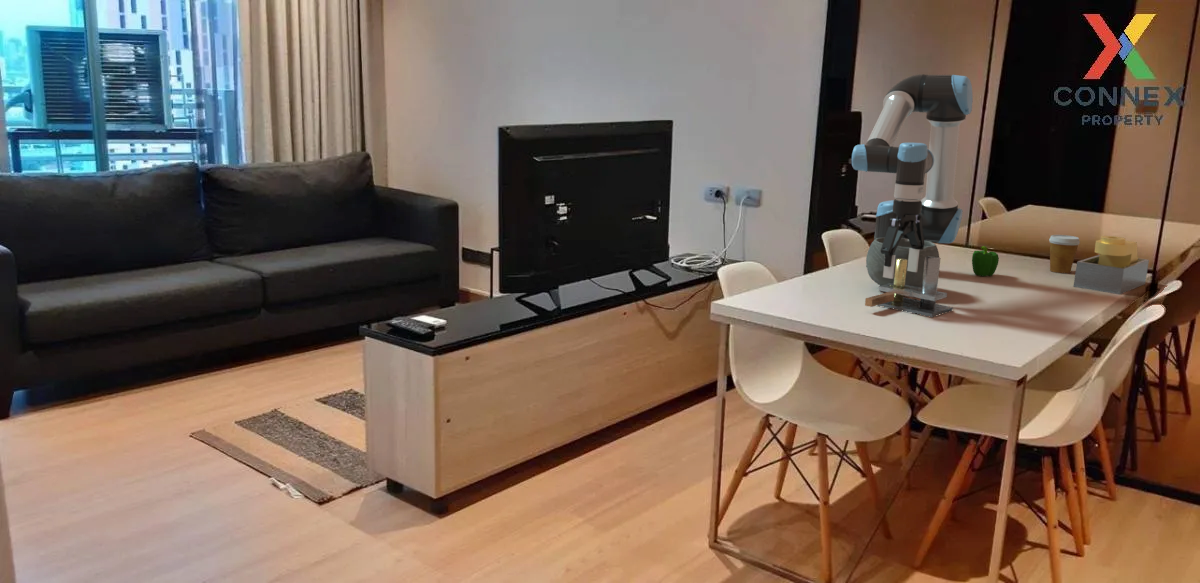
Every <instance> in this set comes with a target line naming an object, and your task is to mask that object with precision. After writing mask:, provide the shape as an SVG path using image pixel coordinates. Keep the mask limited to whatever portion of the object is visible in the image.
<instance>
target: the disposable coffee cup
mask: <svg viewBox="0 0 1200 583" xmlns="http://www.w3.org/2000/svg"><path fill="white" fill-rule="evenodd" d="M1048 240H1049V271H1050V272H1052V273H1055V274H1057V273H1058V274H1070V273H1071V271H1072V267H1073V264H1074V260H1075V256H1076V255H1077V254H1076V253H1077V251H1078V246H1079V245H1080V243H1081V241H1080V238H1079V237H1078V236H1073V235H1066V234H1053V235H1050V237H1049V239H1048Z"/></svg>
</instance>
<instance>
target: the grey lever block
mask: <svg viewBox="0 0 1200 583" xmlns="http://www.w3.org/2000/svg"><path fill="white" fill-rule="evenodd" d="M940 266H941V257H940V256H939V257H934V256H926V257H925V262H924V272H923V281H922V288H920V287H914V286H909V285H905V288H904V289H899V288H893V286H894V282H893V283H889V284H885V285H881V286H880V285H879V286H878V291H880V292H884V293H881V294H876V295H873V296H869V297H866V298H865V301H864V306H866V307H870V308H873V307H876V305H879V306H878V307H880V306H884V307H883V308H885V307H889V308H888V309H890V308H894V309H898V310H897V311H899V310H903V311H902V312H904V311H907V312H906V313H908V312H912V313H911V314H913V313H917V314H916V315H918V314H921V315H920V316H922V315H925V316H924V317H927V316H930V317H929V318H934V317H933V316H935V317H937V316H936V315H938V316H940V315H939V314H941V315H943V314H942V313H944V314H946V313H945V312H947V313H950V312H952V310H954V307H953V306H948V305H943V304H938V303H937V301H939V300H942V299H945V298H947V297H948V293H947V292H942V291H938V283H939V275H940ZM895 294H900V295H904V296H905V297H904V298H903V302H893V301H894V295H895ZM908 297H911V298H908ZM914 298H918V299H919V300H918V299H914ZM894 309H893V310H894ZM949 311H950V312H949Z"/></svg>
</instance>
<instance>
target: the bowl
mask: <svg viewBox="0 0 1200 583" xmlns="http://www.w3.org/2000/svg"><path fill="white" fill-rule="evenodd" d="M884 239H885V238H876V239H875V240H874V239H873V241H872V242H871V243H870V246H869V247H868V251H867V253H866V259H865V261H866V262H865V264H867V267H866V269H867V274H868V276H869V277H870V279H871V280H872V281H873V282H874V283H875V284H877V285H879V286H881V285H885V284H889V283H893V282H894V276H895V267H896V259H907V267H908V258H909V248H912V247H911V244H910V242H909V239H905V238H901V240H900V242H899V244H898V246H897V248H896V250H895V253H894V255H895V265H894V275H893V279H890V278H885V277H883V271H884V261H885V254H882V253H881V248H882V245H883V242H884ZM919 241H920V240H919ZM912 249H913V248H912ZM939 252H940V251H939V249H938V246H937V245H936V243H935V242H931V241H924V248H923V249H919V260H918V269H917V272H911V271H907V269H906V279H905V285H909V286H914V287H920V288H922V281H923V272H924V262H925V257H926V256H934V257H939V258H940V253H939Z"/></svg>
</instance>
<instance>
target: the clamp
mask: <svg viewBox="0 0 1200 583" xmlns="http://www.w3.org/2000/svg"><path fill="white" fill-rule="evenodd" d="M1094 253H1096V254H1098V255H1099V262H1098V264H1099V265H1106V266H1112V267H1119V268H1123V267H1126V266H1128V265H1131V264H1134V263H1137V262H1138V258H1139V257H1138V253H1139V252H1138V243H1137V241H1131V240H1126V238H1124V237H1121V236H1116V235H1115V236H1114V235H1101V236H1100V239H1096V240H1095V245H1094Z"/></svg>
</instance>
